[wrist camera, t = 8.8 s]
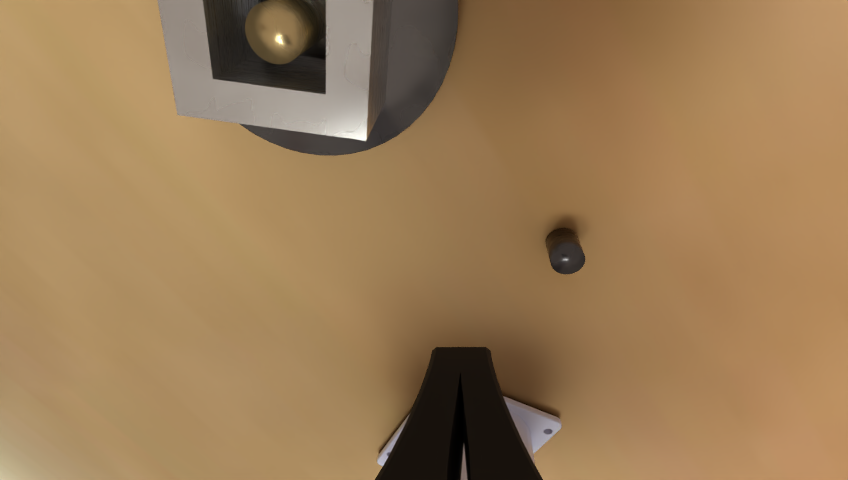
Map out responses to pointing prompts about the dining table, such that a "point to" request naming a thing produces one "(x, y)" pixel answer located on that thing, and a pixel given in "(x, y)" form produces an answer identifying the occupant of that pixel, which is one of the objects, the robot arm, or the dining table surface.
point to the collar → (279, 68)
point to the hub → (406, 76)
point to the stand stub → (565, 251)
